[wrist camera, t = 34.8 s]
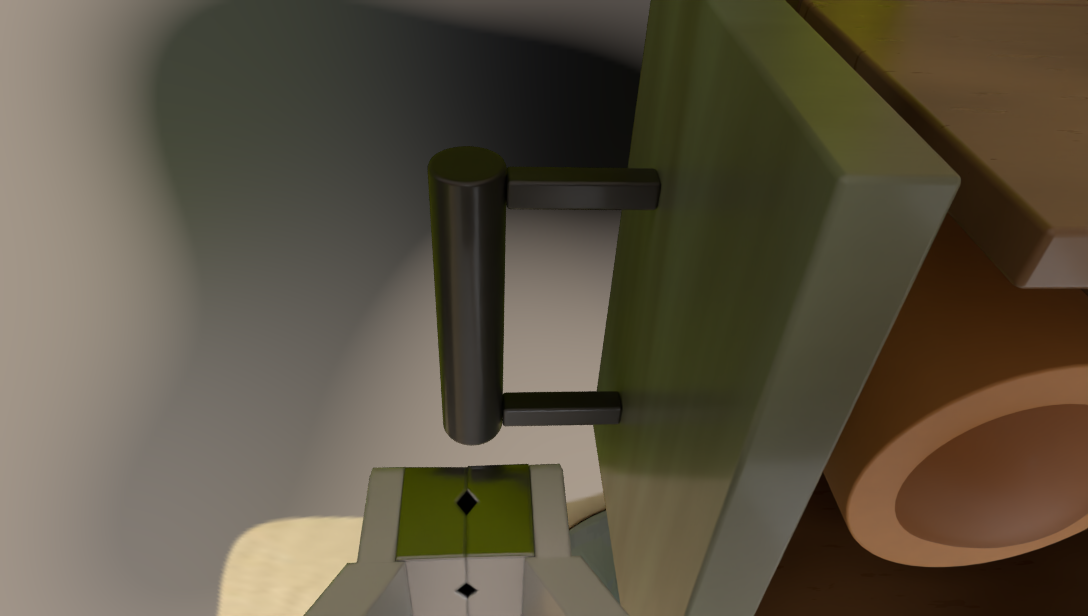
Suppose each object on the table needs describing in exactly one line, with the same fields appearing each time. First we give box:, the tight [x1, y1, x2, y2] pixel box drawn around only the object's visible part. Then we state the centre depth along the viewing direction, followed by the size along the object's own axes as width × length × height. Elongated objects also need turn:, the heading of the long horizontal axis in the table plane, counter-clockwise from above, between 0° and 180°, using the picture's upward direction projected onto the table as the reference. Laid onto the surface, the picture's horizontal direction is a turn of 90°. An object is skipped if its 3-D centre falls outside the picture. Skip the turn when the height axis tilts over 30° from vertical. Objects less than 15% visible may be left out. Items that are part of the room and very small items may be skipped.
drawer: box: [428, 0, 1088, 616], centre depth 15 cm, size 19×13×9 cm
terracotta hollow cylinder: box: [823, 212, 1088, 567], centre depth 14 cm, size 6×6×7 cm
